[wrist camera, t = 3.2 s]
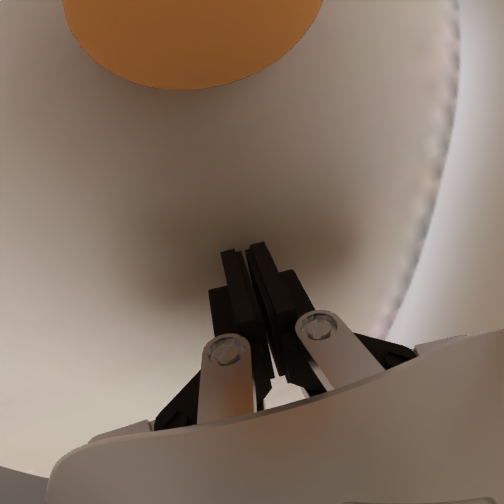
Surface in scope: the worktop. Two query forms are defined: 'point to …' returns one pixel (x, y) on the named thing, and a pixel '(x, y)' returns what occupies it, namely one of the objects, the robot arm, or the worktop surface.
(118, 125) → the worktop surface
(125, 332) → the worktop surface
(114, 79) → the worktop surface
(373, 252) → the worktop surface
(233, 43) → the ball
